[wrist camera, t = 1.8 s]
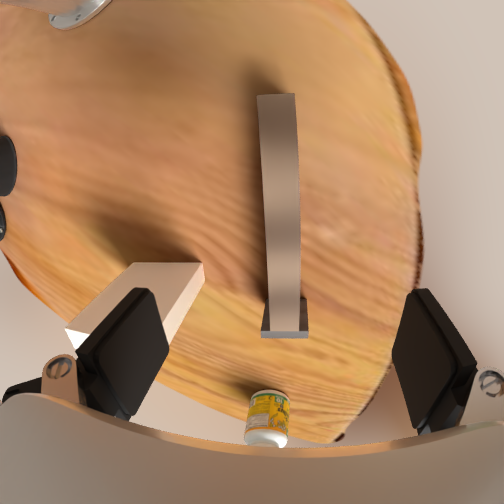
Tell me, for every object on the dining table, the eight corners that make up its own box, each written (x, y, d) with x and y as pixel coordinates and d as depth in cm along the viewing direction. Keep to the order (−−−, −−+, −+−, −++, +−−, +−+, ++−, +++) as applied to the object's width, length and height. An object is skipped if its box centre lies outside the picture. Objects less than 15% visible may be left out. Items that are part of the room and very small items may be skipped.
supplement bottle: (244, 391, 33) (232, 451, 25) (282, 385, 32) (276, 448, 23) (260, 411, 35) (251, 466, 26) (295, 406, 34) (291, 464, 25)
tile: (133, 262, 27) (64, 328, 16) (202, 262, 26) (148, 345, 15) (138, 280, 28) (75, 349, 17) (205, 282, 27) (157, 369, 16)
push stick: (253, 105, 20) (244, 96, 15) (303, 103, 19) (307, 93, 15) (266, 305, 27) (261, 337, 23) (306, 305, 27) (308, 338, 22)
